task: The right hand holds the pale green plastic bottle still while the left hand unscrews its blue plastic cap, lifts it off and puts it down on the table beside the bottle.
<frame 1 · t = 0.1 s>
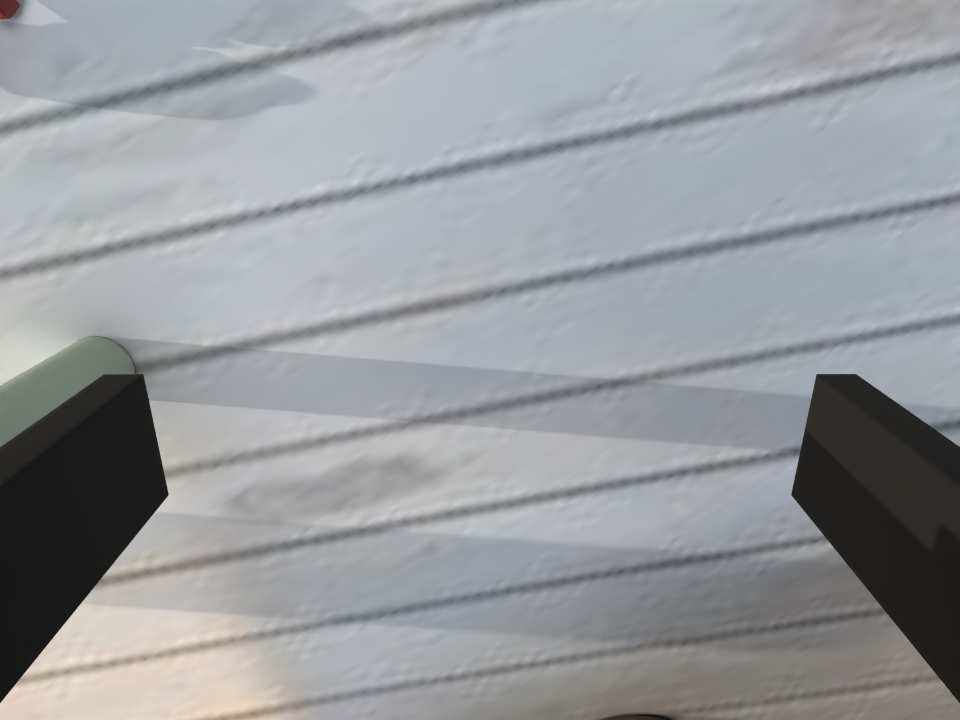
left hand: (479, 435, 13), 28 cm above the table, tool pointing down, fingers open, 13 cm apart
bottle: (102, 367, 42), on the table
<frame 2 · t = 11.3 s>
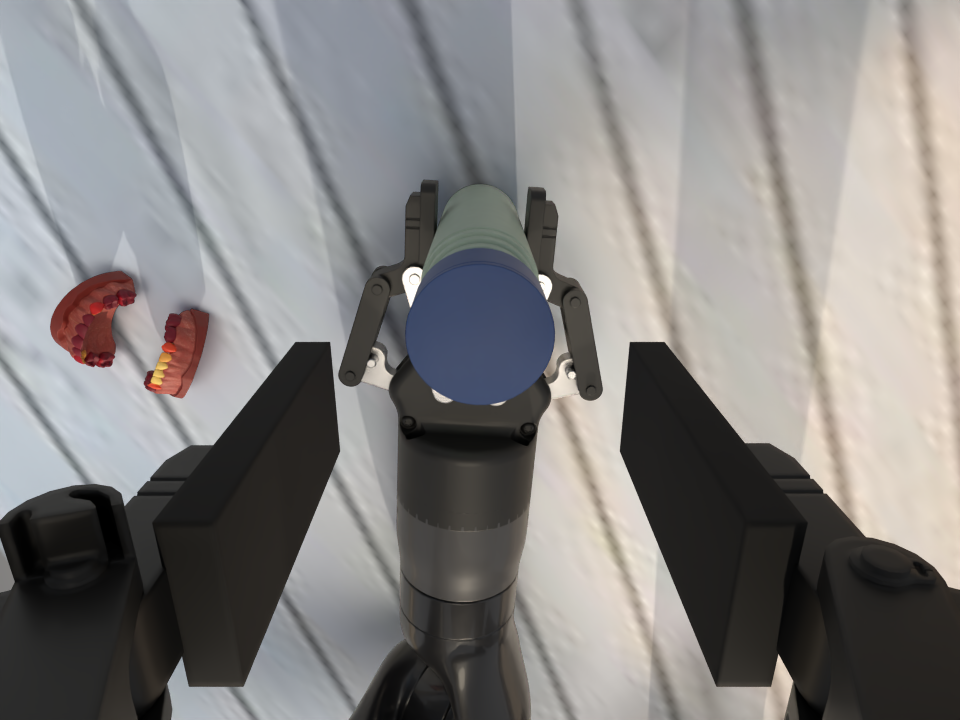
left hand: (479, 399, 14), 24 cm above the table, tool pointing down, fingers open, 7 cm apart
right hand: (482, 187, 30), fingers closed on bottle, 4 cm apart
cap: (480, 334, 18), point 19 cm above the table, screwed on, not yet turned
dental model: (153, 329, 39), on the table
bottle: (479, 223, 37), on the table, touching right hand
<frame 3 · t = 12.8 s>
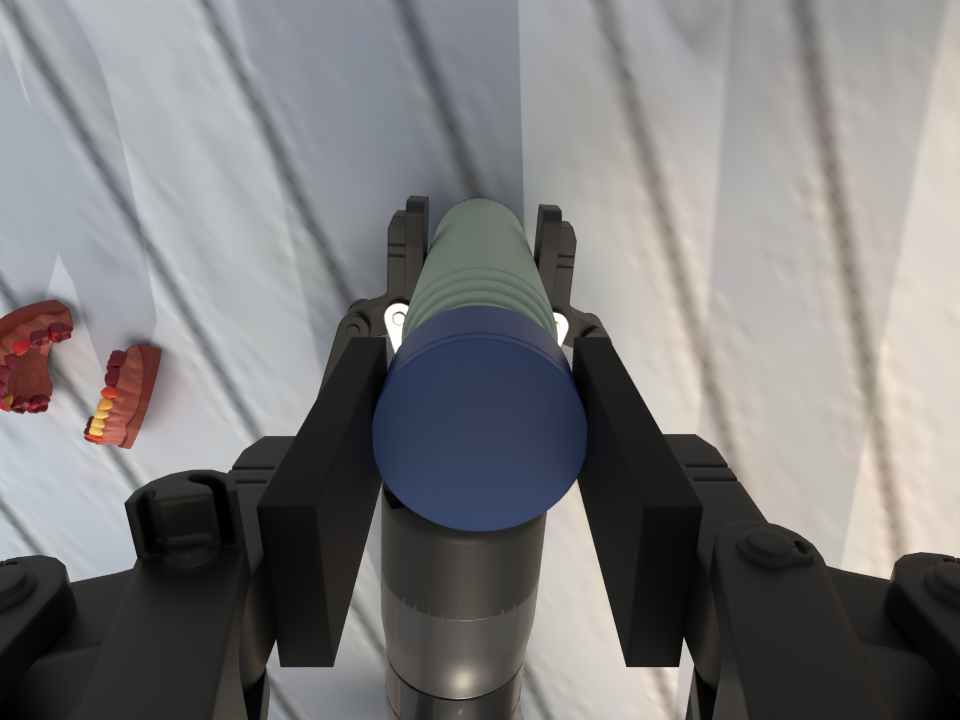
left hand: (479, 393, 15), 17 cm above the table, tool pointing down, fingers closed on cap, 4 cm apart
cap: (479, 434, 13), point 19 cm above the table, screwed on, not yet turned, touching left hand
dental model: (97, 367, 33), on the table
bottle: (479, 244, 31), on the table, touching right hand
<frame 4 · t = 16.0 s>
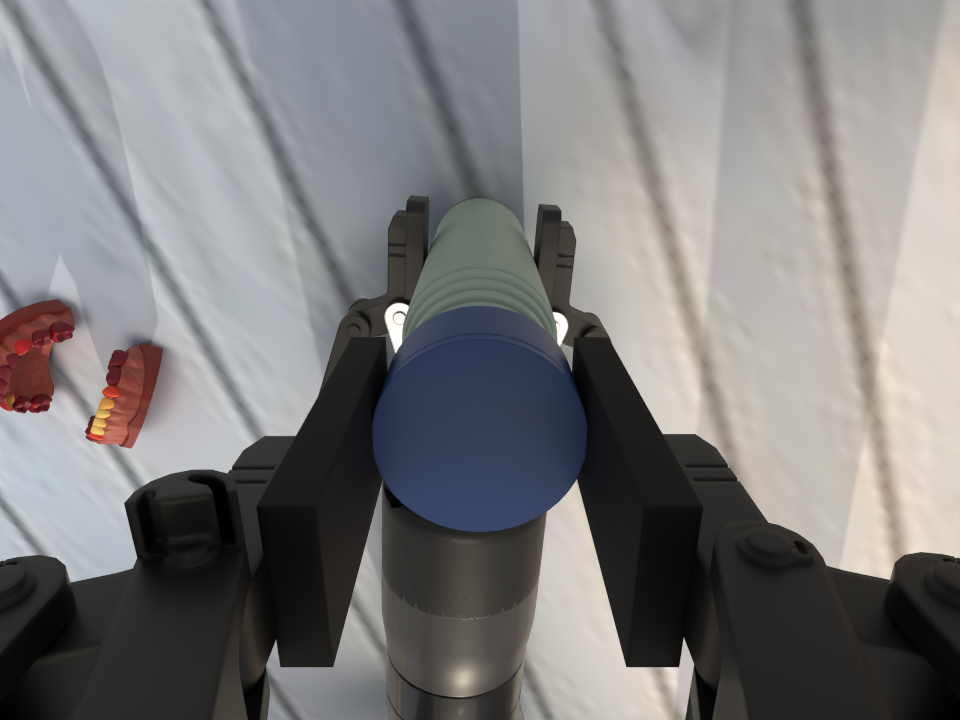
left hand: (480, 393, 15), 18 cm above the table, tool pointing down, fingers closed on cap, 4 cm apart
cap: (479, 434, 13), point 20 cm above the table, turned 97° so far, risen 0.1 cm, still on its thread, touching left hand
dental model: (98, 366, 33), on the table
bottle: (479, 243, 31), on the table, touching right hand
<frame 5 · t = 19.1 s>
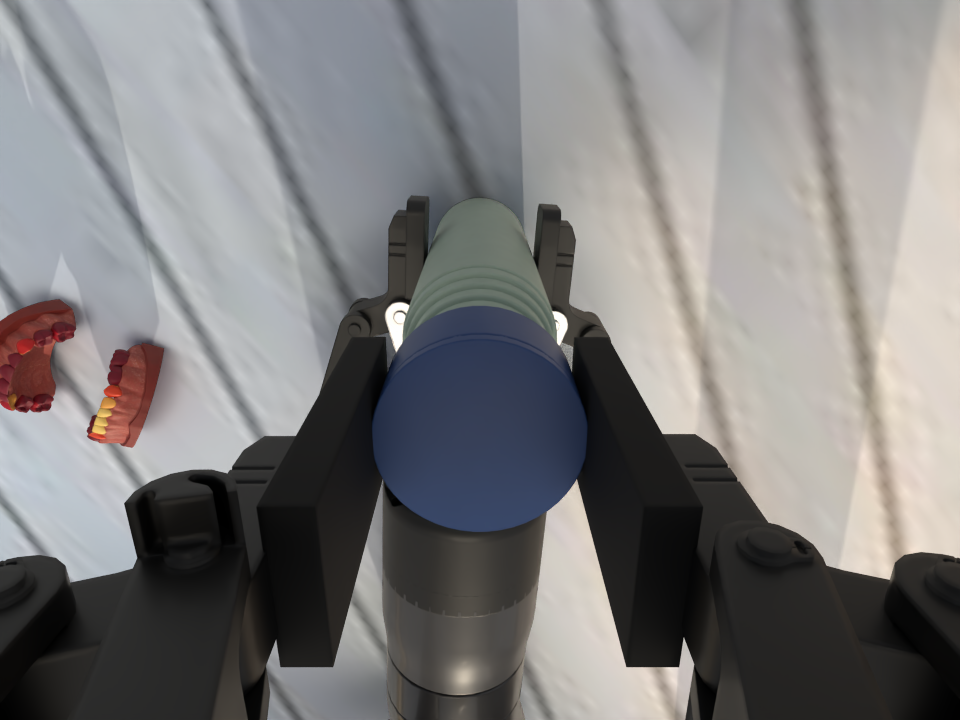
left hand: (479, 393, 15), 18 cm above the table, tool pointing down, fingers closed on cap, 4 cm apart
cap: (479, 434, 13), point 20 cm above the table, turned 194° so far, risen 0.2 cm, still on its thread, touching left hand
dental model: (99, 366, 33), on the table
bottle: (479, 243, 31), on the table, touching right hand
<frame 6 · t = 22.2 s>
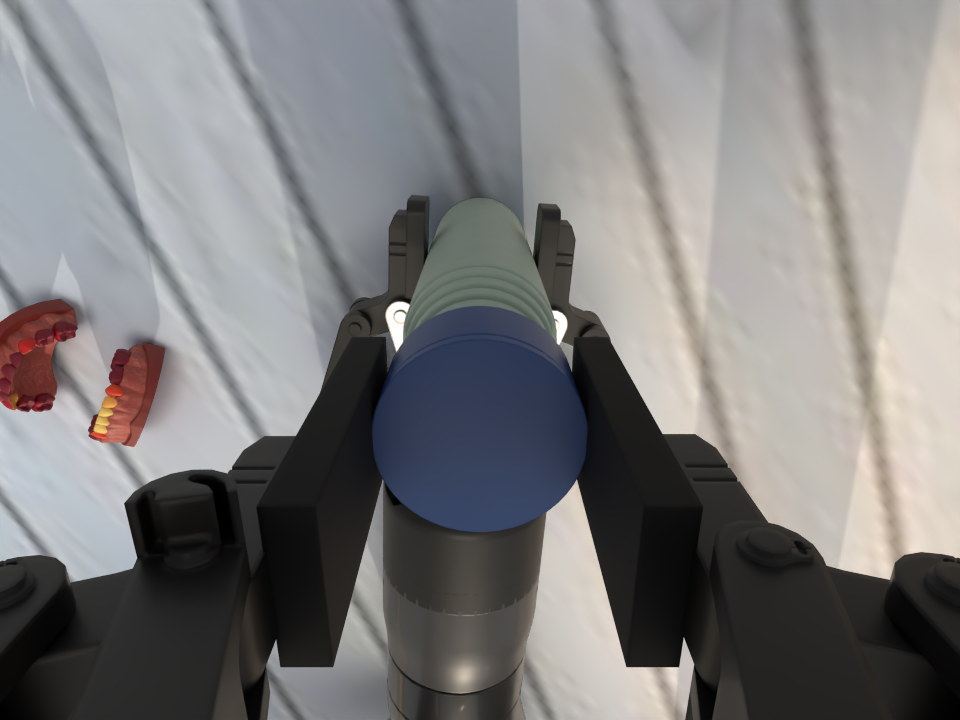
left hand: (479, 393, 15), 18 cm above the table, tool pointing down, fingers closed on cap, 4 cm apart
cap: (479, 434, 13), point 20 cm above the table, turned 291° so far, risen 0.3 cm, still on its thread, touching left hand
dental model: (101, 365, 34), on the table
bottle: (479, 243, 31), on the table, touching right hand
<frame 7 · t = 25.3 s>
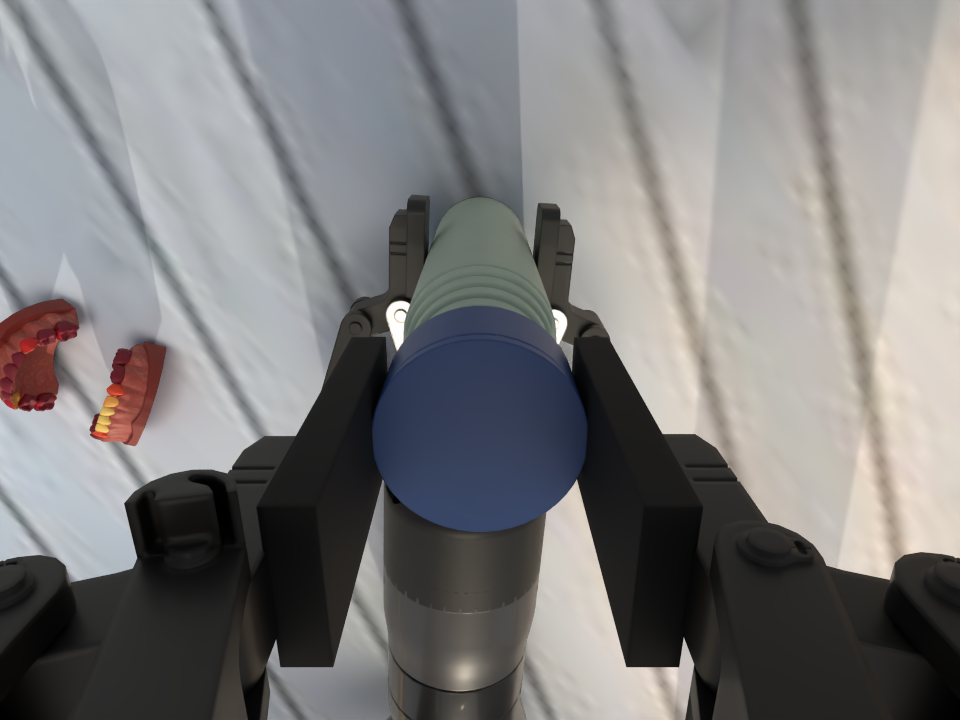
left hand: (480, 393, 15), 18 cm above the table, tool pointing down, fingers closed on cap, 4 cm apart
cap: (479, 434, 13), point 20 cm above the table, turned 388° so far, risen 0.4 cm, still on its thread, touching left hand
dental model: (102, 365, 34), on the table
bottle: (479, 242, 31), on the table, touching right hand
when the left hand's fingers open (1 cm above the table, at t = 31.3 s): cap drops 1 cm, point 2 cm above the table.
when the right hand's fingers open (6 cm above the table, at t = 32.5 s): bottle stays where it is, on the table.
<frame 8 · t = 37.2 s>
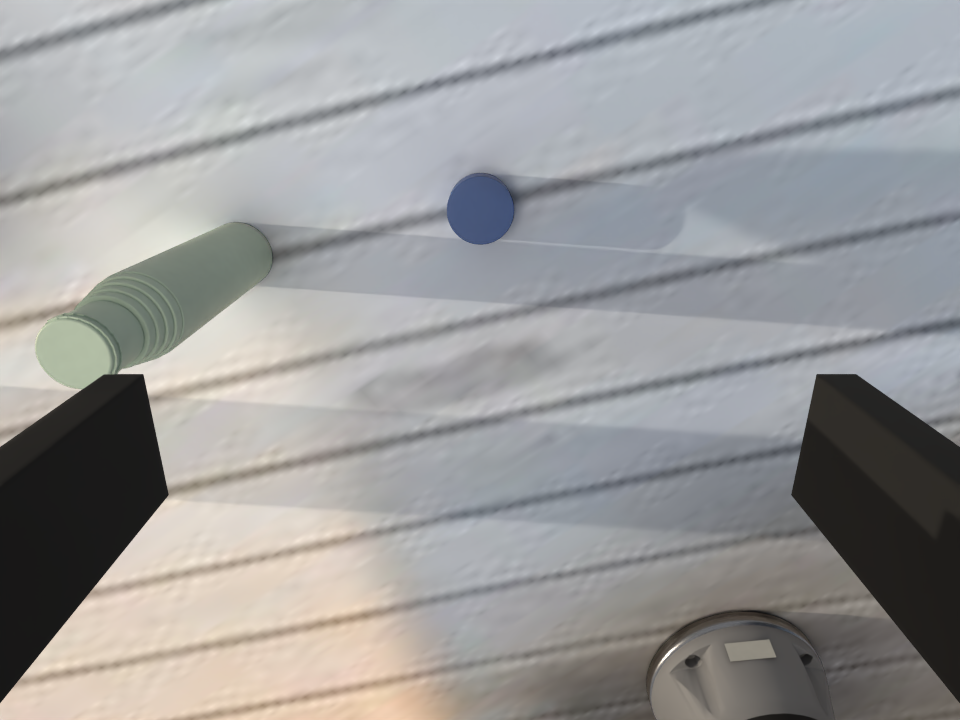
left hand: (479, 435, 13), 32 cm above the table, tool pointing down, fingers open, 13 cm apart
cap: (480, 210, 41), point 2 cm above the table, off its thread
bottle: (240, 254, 44), on the table
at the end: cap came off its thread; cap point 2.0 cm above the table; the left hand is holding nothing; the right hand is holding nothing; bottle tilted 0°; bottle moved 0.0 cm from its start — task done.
